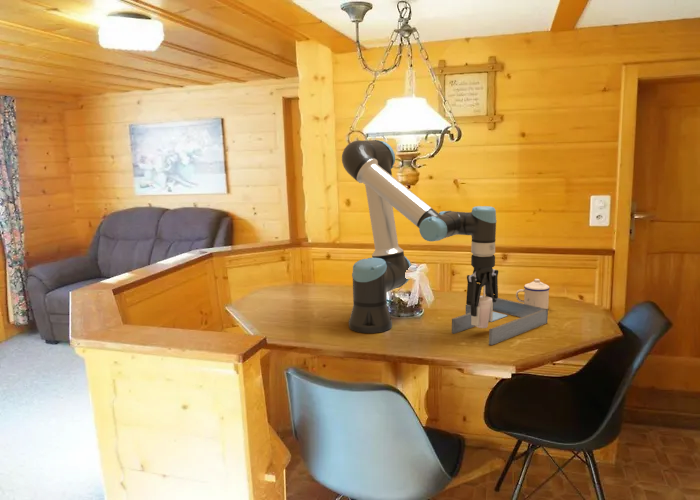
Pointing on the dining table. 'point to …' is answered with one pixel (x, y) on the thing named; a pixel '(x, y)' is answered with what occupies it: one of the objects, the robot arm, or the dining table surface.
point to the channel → (528, 321)
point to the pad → (498, 316)
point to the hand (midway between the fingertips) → (481, 322)
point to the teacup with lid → (535, 294)
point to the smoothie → (484, 310)
